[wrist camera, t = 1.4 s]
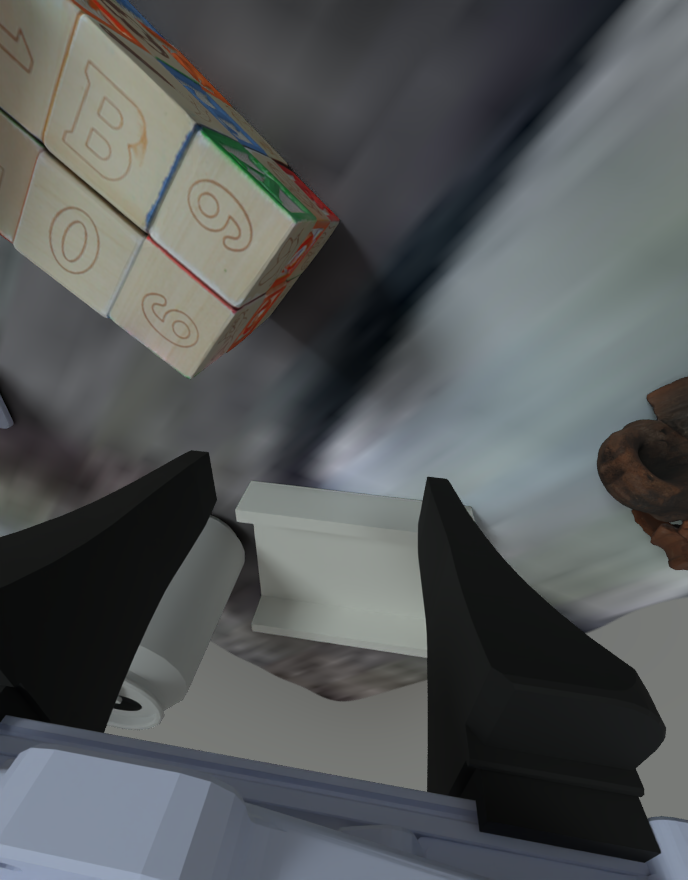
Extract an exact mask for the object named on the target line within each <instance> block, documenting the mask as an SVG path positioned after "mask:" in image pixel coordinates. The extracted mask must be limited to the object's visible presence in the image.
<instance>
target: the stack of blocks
mask: <svg viewBox="0 0 688 880" xmlns="http://www.w3.org/2000/svg"><path fill="white" fill-rule="evenodd" d="M339 221H340V219H339V218H338V217H337V216H336V215H335V214H334V213H333V212H332V211H331V210H330V209H329V208H328V207H327V206H326V205H325V204H324V203H323V202H322V201H321V200H320V199H319V198H318V197H317V196H316V195H315V194H314V193H313V192H312V191H311V190H310V189H309V188H308V187H307V186H306V185H305V184H304V183H303V182H302V181H301V180H300V179H299V178H298V177H297V176H296V175H295V174H294V173H293V172H292V171H290V170H289V169H288V164H287V163H286V162H285V161H284V159H283V158H282V157H281V156H280V155H279V154H278V153H277V152H276V151H275V150H274V149H273V148H272V147H271V146H270V145H269V144H268V143H267V142H266V141H265V140H264V139H263V138H262V137H261V136H260V135H259V134H258V133H257V132H256V131H255V129H254V128H253V127H252V126H251V125H250V124H249V123H248V122H247V121H246V120H245V119H244V118H243V117H242V116H241V115H240V114H239V113H238V112H237V111H235V110H234V109H233V107H232V106H231V105H230V104H229V102H228V101H227V100H226V99H225V98H224V97H223V96H222V95H221V94H220V93H219V92H218V91H217V90H216V89H215V88H214V87H213V86H212V85H211V84H210V83H209V82H208V81H207V79H206V78H205V77H204V76H203V75H202V74H201V73H200V72H199V71H198V70H197V69H196V68H195V67H194V66H193V65H192V64H191V63H190V62H189V61H188V60H187V59H186V58H185V57H184V56H183V55H182V53H181V52H180V51H179V50H178V49H177V48H175V47H174V46H173V45H171V44H170V43H169V42H167V41H166V40H165V39H164V38H163V37H162V36H161V35H160V34H159V33H158V32H157V31H156V29H155V28H154V27H153V26H152V25H151V24H150V23H149V22H148V21H147V20H146V19H145V18H144V17H143V16H142V15H141V14H140V13H139V12H138V11H137V10H136V9H135V8H134V7H133V6H132V5H131V4H130V3H129V1H128V0H0V235H1V236H3V237H4V238H5V239H7V240H8V241H10V242H11V243H13V245H14V246H15V248H16V249H17V250H18V251H19V252H20V253H21V254H22V255H24V256H25V257H26V258H28V259H29V260H30V261H31V262H33V263H34V264H35V265H37V266H38V267H39V268H41V269H42V270H43V271H44V272H46V273H47V274H48V275H50V276H51V277H52V278H54V279H55V280H56V281H57V282H59V283H60V284H61V285H63V286H64V287H65V288H67V289H68V290H69V291H71V292H72V293H73V294H74V295H76V296H77V297H78V298H80V299H81V300H82V301H84V302H85V303H86V304H87V305H89V306H90V307H91V308H93V309H94V310H95V311H97V312H98V313H99V314H101V315H102V316H104V317H105V318H111V319H112V320H113V321H114V322H115V323H116V324H117V325H119V326H120V327H121V328H122V329H124V330H125V331H126V332H127V333H129V334H130V335H131V336H133V337H134V338H135V339H136V340H138V341H139V342H141V343H142V344H143V345H145V346H146V347H147V348H148V349H150V350H151V351H152V352H153V353H154V354H156V355H157V356H158V357H159V358H161V359H163V360H164V361H166V362H167V363H168V364H169V365H170V366H172V367H173V368H174V369H175V370H177V371H178V372H179V373H181V374H182V375H183V376H185V377H186V378H188V379H190V380H191V379H192V378H193V377H195V376H196V375H197V374H199V373H200V372H201V371H203V370H204V369H205V368H206V367H208V366H209V365H210V364H212V363H213V362H214V361H216V360H217V359H218V358H219V357H221V356H222V355H223V354H224V353H227V352H228V351H230V350H231V349H233V348H234V347H235V346H236V345H238V344H239V343H240V342H241V341H243V340H244V339H245V338H246V337H247V336H248V335H249V334H251V333H252V332H253V331H254V330H255V329H256V328H257V327H258V326H259V325H261V324H262V323H263V322H264V321H265V320H266V319H268V318H269V317H270V315H271V314H272V313H273V311H274V310H275V308H276V307H277V306H278V304H279V303H280V302H281V301H282V299H283V298H284V297H285V295H286V294H287V293H288V291H289V290H290V288H291V287H292V286H293V284H294V283H295V282H296V280H297V279H298V278H299V276H300V275H301V274H302V273H303V271H304V270H305V269H306V268H307V267H308V265H309V264H310V263H311V261H312V260H313V259H314V257H315V256H316V255H317V254H318V252H319V251H320V249H321V248H322V247H323V245H324V244H325V243H326V241H327V240H328V238H329V237H330V236H331V234H332V233H333V231H334V230H335V228H336V227H337V225H338V224H339Z"/></svg>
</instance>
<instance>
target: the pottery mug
mask: <svg viewBox="0 0 688 880" xmlns="http://www.w3.org/2000/svg"><path fill="white" fill-rule="evenodd" d="M647 400H648V402H649V403H650V404H651V405H652V407H653V408H654V409H653V410H654V413H655V414H656V416H657V419H658V421H656V420H637V421H634V422H632V423H629V424H627V425H626V426H625V427H624V428H623V429H622V430H620V431H617V432H614V433H612V434H611V435H610V436H609V438H607V439H606V440H605V441H604V442H603V443H602V445H601V447H600V449H599V452H598V459H597V469H598V474H599V477H600V479H601V481H602V483H603V485H604V486H605V488H606V489H607V491H608V492H609V493H610V494H611V495H612V496H613V497H614V498H615V499H616V500H617V501H618V502H620V503H621V504H623V505H625V506H626V507H629V508H631V509H633V510H632V513H633V515H634V518H635V522H636V523H638V524H639V525H640V526H641V527H642V528H643V530H644V531H645V532H646V533H647V534H648V535H649V536H650V537H651V541H650V542H651V543H652V544H653V545H657V546H659V547H661V548H662V549H664V551H665V552H666V555H667V557H668V559H669V561H668V563H669V566H670V567H671V568H672V569H675V570H688V377H684V378H681V379H679V380H676V381H674V382H672V383H670V384H668V385H665V386H663V387H661V388H659V389H657V390H655V391H653V392H652V393H650V394H648V395H647ZM678 520H682V522H683V523H682V525H678V524H670V523H669V522H674V521H678Z"/></svg>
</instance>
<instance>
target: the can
mask: <svg viewBox="0 0 688 880" xmlns="http://www.w3.org/2000/svg"><path fill="white" fill-rule="evenodd" d="M244 563H245V551H244V549H243V546H242V544H241V541H240V540H239V539H238V538H237V536H236V534H235V533H234V532H233V530H232V529H231V528H230V527H229V526H228V525H227V524H226V523H224V522H223V521H221V520H220V519H219V518H216V517H214V516H212V515H210V517H209V519H208V521H207V524H206V526H205V527H204V529H203V531H202V532H201V534H200V536H199V537H198V539H197V541H196V542H195V544H194V546H193V547H192V549H191V550H190V552H189V554H188V555H187V557H186V558H185V560H184V562H183V563H182V565H181V566H180V568H179V570H178V571H177V573H176V574H175V576H174V578H173V579H172V581H171V582H170V584H169V586H168V588H167V589H166V591H165V593H164V595H163V597H162V599H161V601H160V603H159V605H158V607H157V609H156V611H155V613H154V615H153V617H152V619H151V621H150V623H149V625H148V628H147V630H146V632H145V634H144V636H143V639H142V641H141V643H140V645H139V647H138V650H137V652H136V654H135V656H134V659H133V661H132V663H131V666H130V668H129V671H128V673H127V675H126V678H125V680H124V682H123V685H122V687H121V690H120V692H119V695H118V697H117V700H116V702H115V705H114V708H113V710H112V713H111V715H110V718H109V721H108V723H107V725H108V726H113V727H117V728H122V729H130V730H143V729H150V728H152V727H154V726H156V725H158V724H160V723H161V721H162V719H163V717H164V711H165V710H166V709H168V708H170V707H171V706H173V705H175V704H176V703H178V702H180V701H182V700H183V699H184V697H185V695H186V693H187V692H188V690H189V687H190V685H191V683H192V681H193V678H194V676H195V674H196V671H197V669H198V667H199V664H200V662H201V660H202V658H203V655H204V653H205V651H206V649H207V647H208V644H209V642H210V640H211V637H212V635H213V633H214V631H215V628H216V626H217V624H218V622H219V619H220V617H221V615H222V613H223V610H224V608H225V606H226V603H227V601H228V599H229V597H230V594H231V592H232V590H233V588H234V585H235V583H236V581H237V578H238V576H239V574H240V572H241V569H242V567H243V565H244Z"/></svg>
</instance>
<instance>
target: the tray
mask: <svg viewBox="0 0 688 880" xmlns="http://www.w3.org/2000/svg"><path fill="white" fill-rule="evenodd" d="M421 506H422V501H419V500H410V499H402V498H393V497H385V496H376V495H368V494H359V493H351V492H342V491H334V490H325V489H316V488H308V487H299V486H291V485H282V484H274V483H265V482H257V481H251V482H250V484H249V486H248V488H247V490H246V491H245V493H244V495H243V497H242V499H241V500H240V502H239V504H238V506H237V508H236V509H235V511H236V519H237V522H244V523H252V524H254V532H255V541H256V550H257V559H258V568H259V577H260V586H261V598H260V601H259V604H258V607H257V609H256V612H255V615H254V618H253V620H252V623H251V625H252V631H255V632H261V633H268V634H274V635H281V636H287V637H294V638H301V639H307V640H314V641H320V642H327V643H333V644H340V645H347V646H353V647H360V648H366V649H373V650H379V651H386V652H393V653H399V654H406V655H412V656H419V657H425V658H427V632H426V619H425V610H424V602H423V594H422V585H421V577H420V568H419V560H418V521H419V516H420V511H421ZM464 507H465V508H466V510H467V511H468V513H469V514H470V516H471V517H472V519H473V520H474V516H473V512H472V507H470V506H464ZM474 521H475V520H474Z"/></svg>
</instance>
